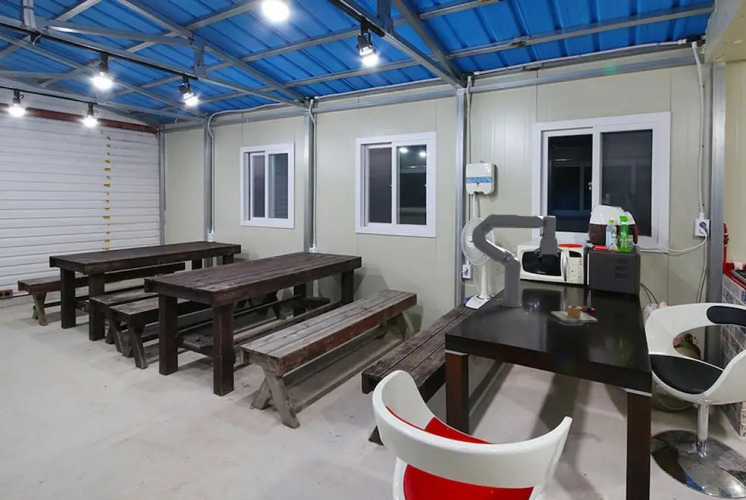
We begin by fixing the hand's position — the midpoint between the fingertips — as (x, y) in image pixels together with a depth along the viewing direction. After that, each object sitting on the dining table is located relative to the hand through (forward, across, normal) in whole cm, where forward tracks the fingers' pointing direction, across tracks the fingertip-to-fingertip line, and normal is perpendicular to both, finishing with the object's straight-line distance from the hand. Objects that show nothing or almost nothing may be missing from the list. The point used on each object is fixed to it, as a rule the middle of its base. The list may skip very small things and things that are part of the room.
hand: (547, 263), depth 264 cm
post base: (+28, +5, -25) cm, 38 cm away
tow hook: (+29, +22, -8) cm, 37 cm away
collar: (+27, +5, -25) cm, 37 cm away
